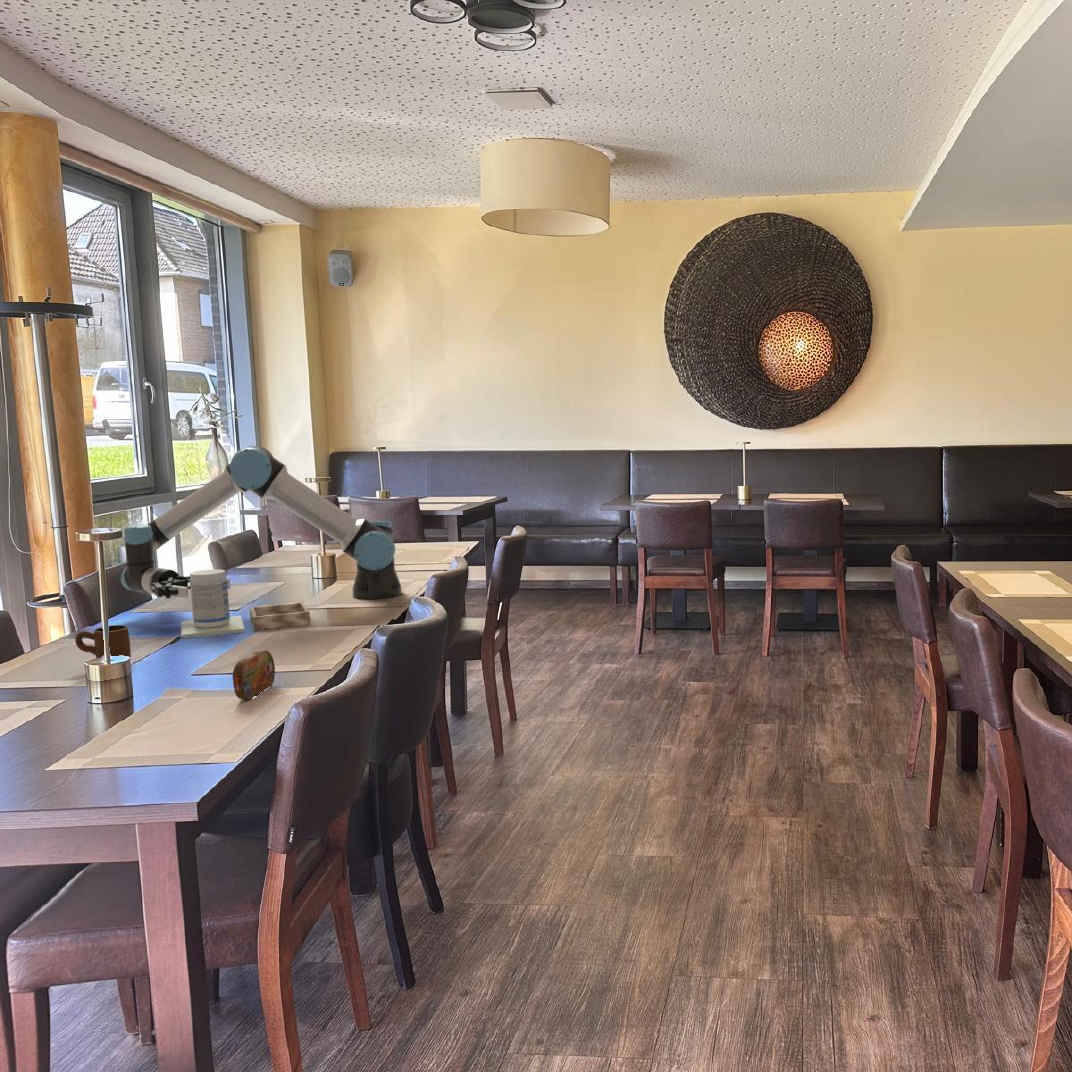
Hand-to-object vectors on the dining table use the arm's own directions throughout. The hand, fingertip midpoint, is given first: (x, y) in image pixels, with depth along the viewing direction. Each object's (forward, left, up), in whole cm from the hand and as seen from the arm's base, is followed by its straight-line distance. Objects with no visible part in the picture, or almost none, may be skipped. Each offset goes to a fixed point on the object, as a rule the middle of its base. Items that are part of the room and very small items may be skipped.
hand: (208, 588), depth 278 cm
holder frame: (-18, 0, -11) cm, 21 cm away
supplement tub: (0, 0, -10) cm, 10 cm away
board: (0, 0, -11) cm, 11 cm away
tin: (-7, +71, -12) cm, 72 cm away
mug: (+25, +33, -11) cm, 43 cm away
